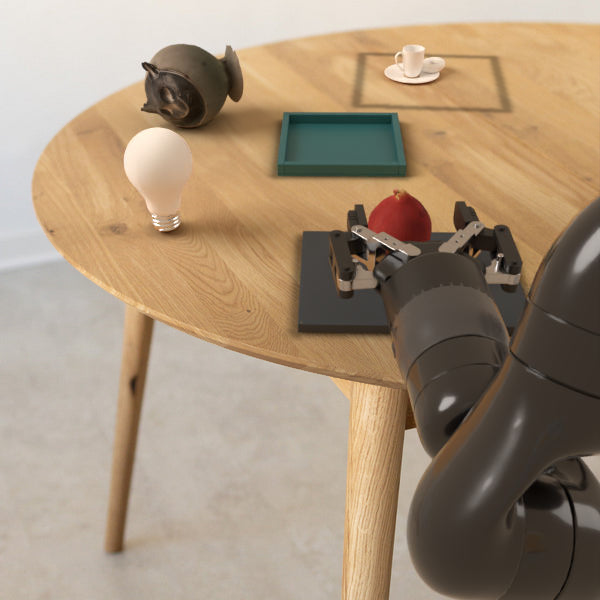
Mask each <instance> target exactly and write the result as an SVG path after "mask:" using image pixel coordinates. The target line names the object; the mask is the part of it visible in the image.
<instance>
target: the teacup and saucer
mask: <svg viewBox="0 0 600 600" xmlns="http://www.w3.org/2000/svg"><path fill="white" fill-rule="evenodd" d="M425 52H426V47H424V46H422V45H420V44H406V45H404V46H403V47H402V51H398V52H397V53H395V56H394V60H395V63H394V64H392V65H389V66H387V67H386V68H385V69H384V72H383V73H384V75H385V76H386V77H387V78H388V79H390V80H392V81H395V82H399V83H405V84H424V83H425V84H426V83H429V82H430V83H431V82H433V81H435V80H437V79H439V77H440V72H441V71H443V70H444V69H445V67H446V61H445V59H444V58H442V57H439V56H430V57H426V58H425V54H426V53H425ZM399 55H401V56H402V62H398V56H399Z"/></svg>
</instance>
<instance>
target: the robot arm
mask: <svg viewBox="0 0 600 600" xmlns="http://www.w3.org/2000/svg"><path fill="white" fill-rule="evenodd" d="M453 208H454V209H453V215H452V217H453V218H452V222H453V226H454V228H455V230H456V233H455V234H454V235H453V236H452V237H451V238H450V240H449V241H448V242H447V243H446V242H442V240H431V241H425V242H417V241H402V242H401V241H399V240H397V239H396V238H394V237H392V236H390V235H388V234H387V233H385V232H381V233H379V234H377V233H375V232H373V231H371V230H370V229H368V220H367V215H366V210H365V207H364V204H363V203H362V204H361V203H360V204H359V203H356V204H355V203H354V207H353V209H349V210H348V212H347V214H346V230H347V231H348V232H347V233H344V232H343V230H340V229H334V230H330V231H331V232H330V233H329V241H330V253H329V263H330V266H331V270H332V274H333V278H334V282H335V286H336V290H337V294H338V296H339V297H340V298H342V299H350V298H352V297H353V296H354V290H355V289H368V288H373V289H374V290H375V291H376V292H377V293H378V294H379V295H380V296H381V297H382V300H383V304H384V309H385V313H386V317H387V322H388V326H389V330H390V338H391V349H392V354H393V357H394V359H395V360H396V364H397V368H398V371H399V373H400V377H401V378H402V381H403V382H404V385H405V387H406V391H407V393H408V398H409V402H410V405H411V410H412V414H413V420H414V425H415V428H416V432H417V436H418V438H419V442H420V444H421V445H422V448H423V450H424V452H425V453H426V455H427V456H428V457H429V458H430V459H431V461H430V463H429V464H428V466H427V468H426V469H425V471H424V472H423V473H422V475H421V478H420V479H419V481H418V483H417V485H416V487H415V490H414V493H413V495H412V498H411V500H410V504H409V507H408V512H407V516H406V517H407V519H406V527H405V528H406V533H405V535H406V536H405V537H406V546H407V551H408V554H409V558H410V561H411V564H412V566H413V568H414V570H415V572H416V574H417V576H418V577H419V578H420V580H421V581H422V582H423V583H424V585H426V586H427V587H428V588H429V589H430V590H432V591H433V592H435V593H436V594H438V595H440V596H442V597H446V598H450V599H452V600H600V481H599V479H597V476H596V475H595V473H593V471H592V470H591V468H590V467H589V465H588V464H587V463H586V462H585V460H583V458H586V457H587V458H588V457H597V456H598V457H599V456H600V193H598V194H597V195H596V196H594V197H593V198H592V199H591V200H590V201H589V202H587V203H586V204H585V205H584V206H583V207H582V208H581V209H579V211H578V212H577V213H575V214H574V216H573V217H572V218H571V219H570V220H569V221H568V222H567V224H566V225H565V226H563V228H562V229H561V230H560V232H559V233H558V234H557V236H556V237H555V238H554V240H553V241H552V242H551V244H550V246H549V248H548V249H547V251H546V253H545V254H544V256H543V258H542V260H541V262H540V263H539V266H538V268H537V270H536V272H535V275H534V276H533V280H532V283H531V285H530V287H529V290H528V292H527V296H526V297H525V298H526V300H525V303H524V306H523V308H522V311H521V313H520V316H519V319H518V321H517V324H516V326H515V329H514V332H513V334H512V335H511V336H510V335H509V334H508V331H507V329H506V326H505V324H504V321H503V319H502V317H501V314H500V312H499V310H498V307H497V305H496V303H495V300H494V298H493V295H492V293H491V291H490V288H489V286H488V284H500V285H501V288H502V290H503V291H505V292H507V293H515V292H517V290H518V285H519V280H520V281H521V275H522V271H523V266H524V265H523V263H524V262H523V259H522V257H521V255H520V252H519V250H518V247H517V245H516V242H515V240H514V237H513V234H512V232H511V230H510V228H509V226H507V225H505V224H495V225H494V226H493V228H490V227H486V225H485V223H484V222H482V221H480V218H479V217H478V214H477V213H476V209H475V208H473V207H472V206H470V205H468V206H467V202H466V201H465V200H457V201H455V202H454V207H453ZM367 245H368V247H369V250H367V249H366V248H367ZM481 250H483V251H490V256H491V259H492V262H491V265H490V266H489V267H485V265H484V264H483V263H482V262H481V261H480V260H478V259H476V257H477V256H478V255H479V254H480V252H481ZM386 251H387V252H389V253H388V254H387V255H386ZM352 257H353V258H354V259H352ZM358 261H359V262H361V263H363V264H364V265H366V266H367V268H368V271H366V270H364V269H363V267H362V266H361V265H359V264H358Z"/></svg>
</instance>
